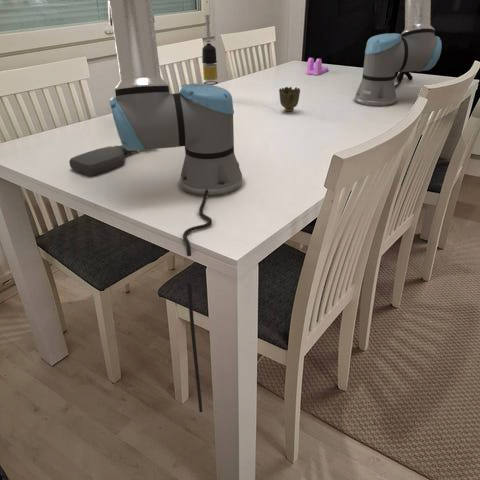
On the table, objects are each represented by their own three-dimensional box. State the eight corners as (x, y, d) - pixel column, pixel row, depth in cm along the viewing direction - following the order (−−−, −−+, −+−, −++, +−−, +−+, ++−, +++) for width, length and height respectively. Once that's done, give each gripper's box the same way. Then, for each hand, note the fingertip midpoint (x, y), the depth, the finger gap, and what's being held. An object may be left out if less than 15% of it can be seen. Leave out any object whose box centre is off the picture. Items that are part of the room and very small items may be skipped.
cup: (275, 113, 160) (275, 90, 156) (283, 107, 165) (284, 85, 161) (294, 115, 157) (295, 92, 153) (302, 110, 162) (303, 87, 158)
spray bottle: (67, 168, 120) (139, 144, 136) (91, 178, 114) (163, 151, 130) (65, 157, 118) (137, 134, 134) (89, 167, 112) (162, 142, 128)
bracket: (317, 75, 212) (318, 59, 208) (306, 73, 215) (307, 58, 211) (329, 70, 221) (331, 55, 217) (319, 69, 223) (320, 54, 220)
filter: (220, 99, 177) (217, 15, 161) (206, 100, 176) (202, 16, 160) (215, 96, 182) (212, 14, 166) (202, 97, 180) (197, 14, 164)
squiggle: (400, 92, 202) (376, 71, 205) (417, 76, 202) (392, 56, 205) (405, 81, 191) (380, 59, 194) (423, 64, 191) (397, 42, 194)
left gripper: (153, -35, 141) (161, 44, 153) (89, -33, 134) (102, 49, 146) (159, -35, 135) (167, 47, 147) (93, -33, 128) (107, 52, 140)
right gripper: (447, -77, 122) (431, 10, 133) (550, -84, 107) (522, 15, 118) (458, -76, 126) (441, 8, 138) (559, -83, 111) (531, 12, 123)
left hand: (135, 48), depth 146 cm, fingers closed on canister, 7 cm apart
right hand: (479, 11), depth 128 cm, fingers open, 13 cm apart
